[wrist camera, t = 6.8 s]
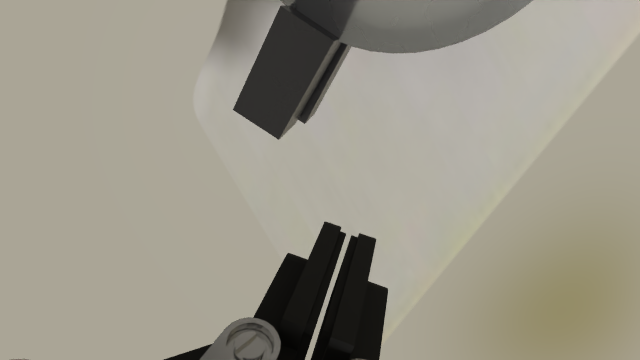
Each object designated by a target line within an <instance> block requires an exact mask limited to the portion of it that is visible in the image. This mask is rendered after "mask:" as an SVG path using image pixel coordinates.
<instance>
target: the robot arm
mask: <svg viewBox="0 0 640 360" xmlns="http://www.w3.org/2000/svg"><path fill="white" fill-rule="evenodd" d="M340 230H341V227H340V226H337V225H334V224H331V223H328V222H324V225H323V227H322V229H321V231H320V234H319V236H318V238H317V240H316V243H315V245H314V247H313V249H312V252H311V254H310V256H309V259H308V260H307V259H304V258H301V257H299V256H296V255H293V254H290V253H288V254H287V255H286V257H285V259H284V261H283V262H282V264H281V266H280V268H279V270H278V272H277V274H276V276H275V278H274V280H273V281H272V283H271V285H270V287H269V289H268V291H267V293H266V295H265V297H264V298H263V300H262V302H261V304H260V306H259V308H258V310H257V312H256V313H255V315H254V317H253V318H243V319H239V320H237V321H234V322H232V323H231V324H230V325H229V326H228V327H226V328H225V329H224V331H223V332H222V333H221V334H220V336H219V337H218V338H217V339H216V340H215V342H214V343H213V344H210V345H207V346H204V347H201V348H198V349H195V350H192V351H189V352H186V353H183V354H180V355H177V356H174V357H170V358H168V359H164V360H305V357H306V354H307V351H308V348H309V345H310V342H311V339H312V336H313V333H314V329H315V327H316V324H317V321H318V318H319V315H320V312H321V309H322V306H323V303H324V300H325V297H326V294H327V291H328V288H329V284H330V281H331V278H332V275H333V272H334V269H335V266H336V263H337V260H338V257H339V254H340V251H341V248H342V245H343V242H344V239H345V236H346V233H343V232H340ZM375 243H376V239H375V238H372V237H369V236H366V235H363V234H360V233H359V236H358V237H355V236H351V238H350V241H349V244H348V247H347V250H346V253H345V256H344V259H343V262H342V265H341V268H340V271H339V274H338V277H337V280H336V283H335V286H334V289H333V291H332V294H331V297H330V300H329V304H328V307H327V310H326V313H325V316H324V319H323V323H322V326H321V329H320V332H319V335H318V339H317V342H316V345H315V348H314V351H313V354H312V358H311V360H379V356H380V349H381V341H382V333H383V326H384V318H385V310H386V303H387V295H388V288H385V287H383V286H380V285H377V284H374V283H371V282H369V281H368V277H369V272H370V267H371V263H372V258H373V253H374V248H375ZM12 360H27V359H12Z"/></svg>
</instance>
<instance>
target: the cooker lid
mask: <svg viewBox="0 0 640 360" xmlns="http://www.w3.org/2000/svg"><path fill="white" fill-rule="evenodd" d="M281 1H282V2H283V3H284V4H285V5H286V6H280V8H279V11H278V13H277V15H276V17H275V19H274V21H273V24H272V26H271V28H270V30H269V32H268V34H267V37H266V39H265V41H264V43H263V45H262V48H261V50H260V52H259V54H258V56H257V58H256V61H255V63H254V65H253V67H252V69H251V71H250V74H249V76H248V78H247V80H246V82H245V85H244V87H243V89H242V91H241V93H240V95H239V98H238V100H237V102H236V104H235V106H234V109H233V110H234V111H236V112H237V113H239V114H240V115H242V116H243V117H245V118H246V119H248V120H249V121H251V122H253V123H254V124H256V125H257V126H259V127H260V128H262V129H263V130H265V131H266V132H268V133H269V134H271V135H272V136H274V137H276V138H277V139H280V138H281V137H282V136H283V135H284V134H285V133H286V132H287V131H288V130H289V129H290V128H291V127H292V126H293V125H295V123H296V122H297V120H298V118H299V116H300V115H301V113H302V111H303V109H304V108H305V106H306V104H307V102H308V101H309V99H310V97H311V95H312V94H313V92H314V90H315V88H316V87H317V85H318V83H319V81H320V80H321V78H322V76H323V74H324V73H325V71H326V69H327V67H328V66H329V64H330V62H331V60H332V59H333V57H334V55H335V53H336V52H337V50H338V48H339V46H340V45H341V43H344V44H347V45H349V46H353V47H357V48H361V49H365V50H369V51H375V52H385V53H416V52H422V51H428V50H434V49H439V48H443V47H446V46H449V45H453V44H456V43H459V42H463V41H465V40H467V39H469V38H472V37H474V36H476V35H479V34H481V33H483V32H486V31H487V30H489V29H491V28H493V27H494V26H496V25H498V24H499V23H501V22H503V21H505V20H506V19H508V18H510V17H511V16H513V15H514V14H515V13H517V12H518V11H519V10H521V9H522V8H523V7H525V6H526V5H528V4H529V3H530V2H532V1H533V0H281Z"/></svg>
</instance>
